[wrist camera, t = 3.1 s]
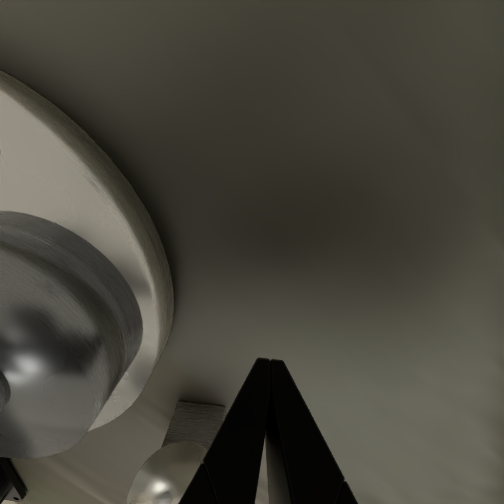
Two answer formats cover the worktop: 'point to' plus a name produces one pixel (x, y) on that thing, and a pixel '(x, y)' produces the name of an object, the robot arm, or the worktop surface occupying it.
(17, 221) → the cover
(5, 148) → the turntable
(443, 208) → the worktop surface
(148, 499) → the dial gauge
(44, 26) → the worktop surface
